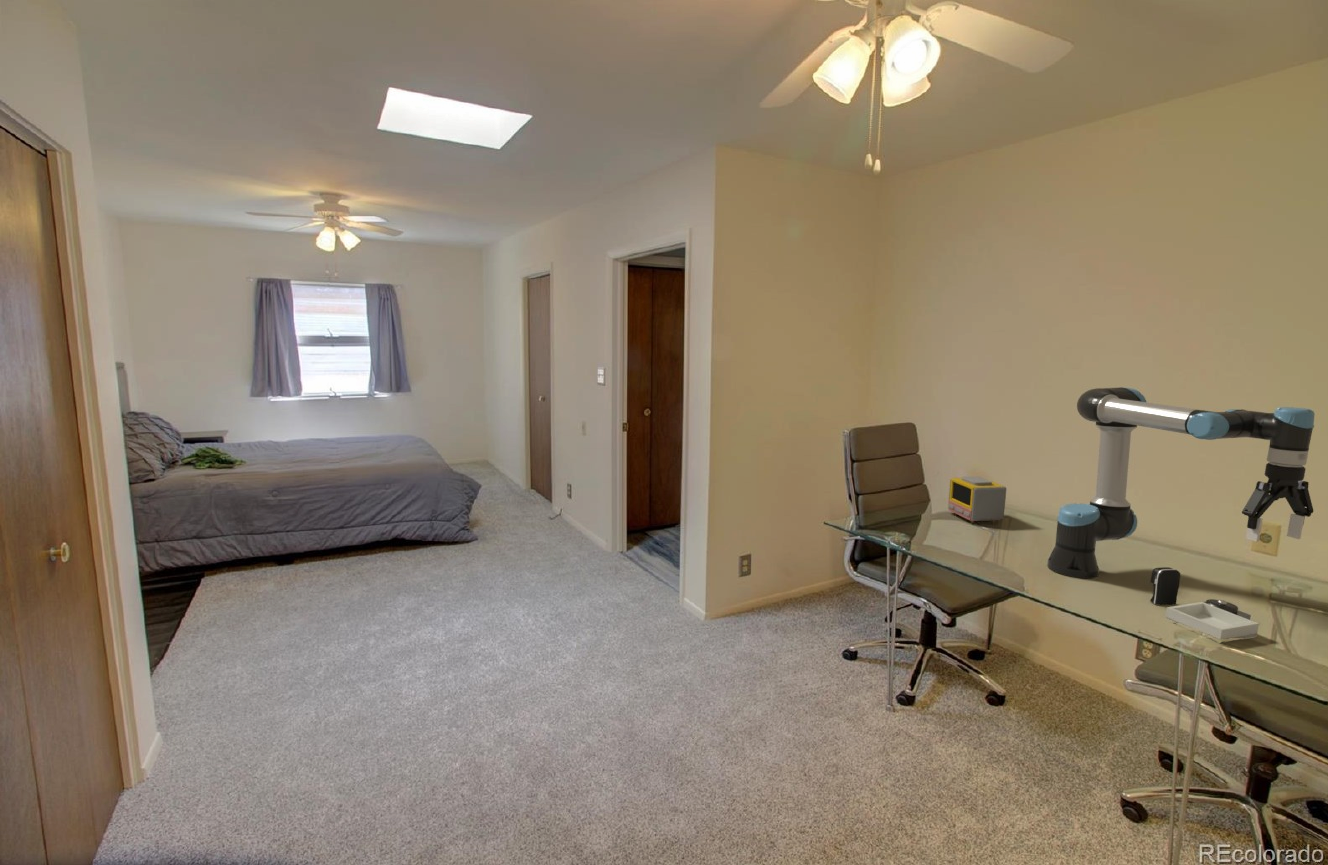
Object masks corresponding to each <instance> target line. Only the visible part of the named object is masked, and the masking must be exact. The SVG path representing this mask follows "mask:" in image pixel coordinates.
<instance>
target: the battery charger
mask: <svg viewBox="0 0 1328 865" xmlns="http://www.w3.org/2000/svg"><path fill="white" fill-rule="evenodd" d="M1149 582H1150V583H1151V584H1152V586H1153V594H1152V597H1151V598H1150V601H1149V602H1150V603H1152V604H1154V605H1156V606H1172V604H1173V605H1176V604H1177V601H1178V600H1177V598H1178V593H1179V588H1180V582H1181V572H1180V571H1179V570H1177V569H1175V568H1172V567H1165V566H1163V567H1155V568H1153V569H1152V572H1151V577H1150V581H1149Z"/></svg>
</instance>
